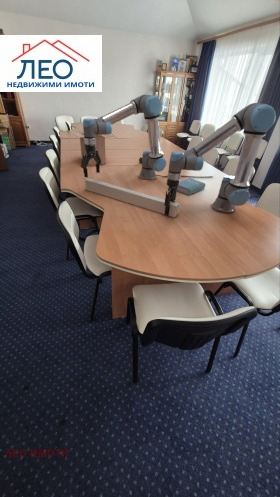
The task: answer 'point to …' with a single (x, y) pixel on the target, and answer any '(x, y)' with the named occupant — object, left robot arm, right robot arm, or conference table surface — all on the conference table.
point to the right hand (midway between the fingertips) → (168, 212)
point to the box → (99, 146)
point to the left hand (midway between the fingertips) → (92, 174)
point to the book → (190, 186)
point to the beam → (131, 196)
